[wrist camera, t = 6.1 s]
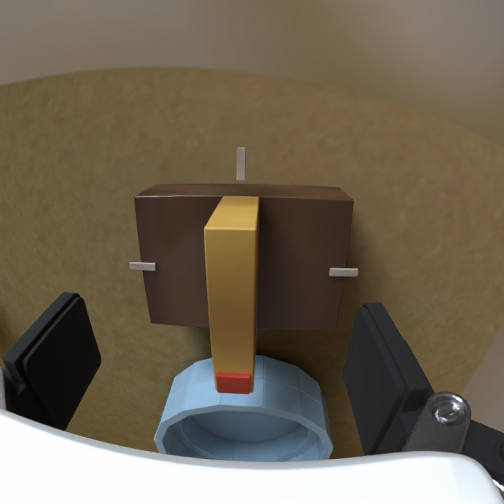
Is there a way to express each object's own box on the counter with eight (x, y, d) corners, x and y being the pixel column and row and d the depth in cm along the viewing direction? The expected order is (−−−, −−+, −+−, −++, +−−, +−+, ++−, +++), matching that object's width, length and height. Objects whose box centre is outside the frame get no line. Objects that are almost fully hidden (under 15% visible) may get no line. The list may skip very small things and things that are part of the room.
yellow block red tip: (222, 195, 14) (201, 230, 9) (259, 196, 13) (256, 231, 9) (226, 329, 16) (214, 395, 12) (256, 330, 16) (253, 397, 12)
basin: (181, 439, 25) (171, 481, 21) (159, 343, 21) (136, 394, 16) (312, 445, 25) (316, 488, 20) (336, 350, 20) (349, 404, 16)
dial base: (160, 323, 20) (146, 353, 17) (142, 147, 16) (117, 153, 13) (331, 329, 20) (340, 361, 17) (352, 149, 15) (371, 155, 12)
